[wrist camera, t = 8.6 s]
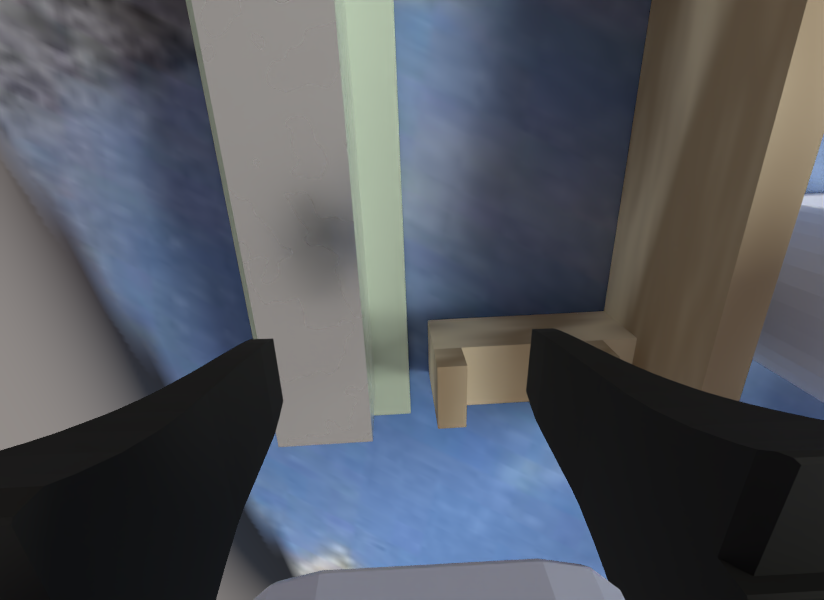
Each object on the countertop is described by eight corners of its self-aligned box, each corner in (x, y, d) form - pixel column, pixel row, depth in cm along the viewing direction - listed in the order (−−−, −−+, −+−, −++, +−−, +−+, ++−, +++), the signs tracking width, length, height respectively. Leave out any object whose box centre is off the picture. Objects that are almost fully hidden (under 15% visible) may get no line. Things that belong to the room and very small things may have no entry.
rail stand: (739, -277, 13) (1079, -677, 7) (616, 400, 23) (706, 504, 16) (414, -276, 13) (441, -701, 6) (429, 411, 22) (445, 522, 16)
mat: (382, -265, 13) (381, -277, 12) (410, 408, 22) (410, 413, 22) (137, -265, 13) (130, -277, 12) (271, 416, 22) (269, 421, 22)
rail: (329, -196, 13) (305, -327, 9) (375, 388, 21) (372, 441, 18) (202, -195, 13) (127, -327, 9) (298, 392, 21) (278, 447, 17)
